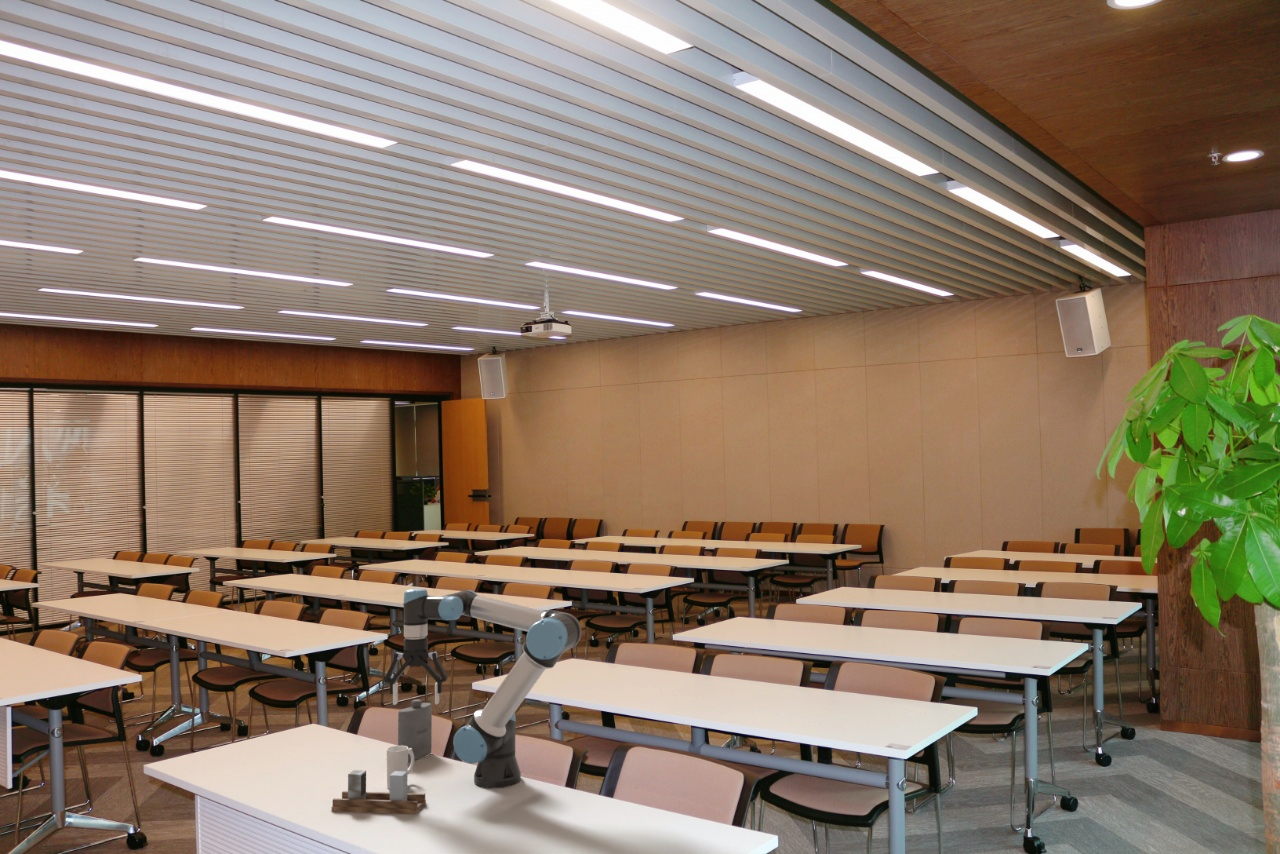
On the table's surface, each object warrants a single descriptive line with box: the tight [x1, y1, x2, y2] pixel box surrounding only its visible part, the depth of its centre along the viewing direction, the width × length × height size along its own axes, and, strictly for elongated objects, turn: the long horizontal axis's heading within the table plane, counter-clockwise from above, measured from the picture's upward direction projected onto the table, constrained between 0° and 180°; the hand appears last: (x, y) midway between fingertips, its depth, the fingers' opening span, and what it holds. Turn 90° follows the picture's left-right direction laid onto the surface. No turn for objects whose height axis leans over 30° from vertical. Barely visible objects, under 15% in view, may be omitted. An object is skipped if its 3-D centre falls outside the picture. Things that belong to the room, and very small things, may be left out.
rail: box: [331, 769, 427, 815], centre depth 288 cm, size 26×9×10 cm, turn 83°
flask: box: [397, 699, 433, 763], centre depth 340 cm, size 15×6×20 cm, turn 152°
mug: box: [386, 745, 415, 789], centre depth 309 cm, size 10×7×12 cm, turn 141°
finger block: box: [389, 771, 408, 801], centre depth 287 cm, size 4×4×9 cm
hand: (416, 703), depth 308 cm, fingers open, 13 cm apart
